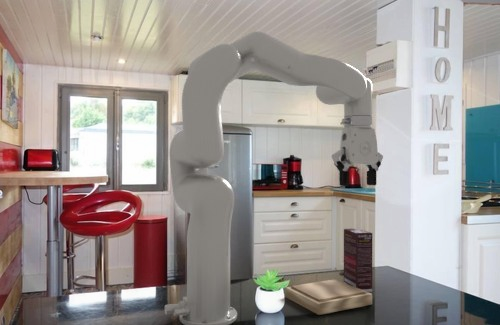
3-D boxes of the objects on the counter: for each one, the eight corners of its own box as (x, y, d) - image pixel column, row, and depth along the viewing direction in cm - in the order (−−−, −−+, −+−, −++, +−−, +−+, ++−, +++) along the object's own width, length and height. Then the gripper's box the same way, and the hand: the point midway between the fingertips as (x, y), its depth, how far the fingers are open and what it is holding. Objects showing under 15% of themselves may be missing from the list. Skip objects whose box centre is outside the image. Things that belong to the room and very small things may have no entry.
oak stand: (318, 314, 92) (318, 301, 92) (285, 297, 104) (285, 285, 104) (372, 304, 99) (372, 291, 99) (335, 288, 111) (335, 277, 112)
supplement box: (373, 292, 109) (373, 232, 109) (356, 293, 108) (356, 233, 108) (358, 283, 117) (358, 228, 117) (342, 284, 116) (342, 228, 116)
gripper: (342, 120, 106) (342, 186, 105) (391, 123, 113) (391, 185, 113) (324, 123, 112) (324, 185, 112) (372, 126, 120) (372, 184, 120)
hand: (358, 185), depth 113 cm, fingers open, 9 cm apart
